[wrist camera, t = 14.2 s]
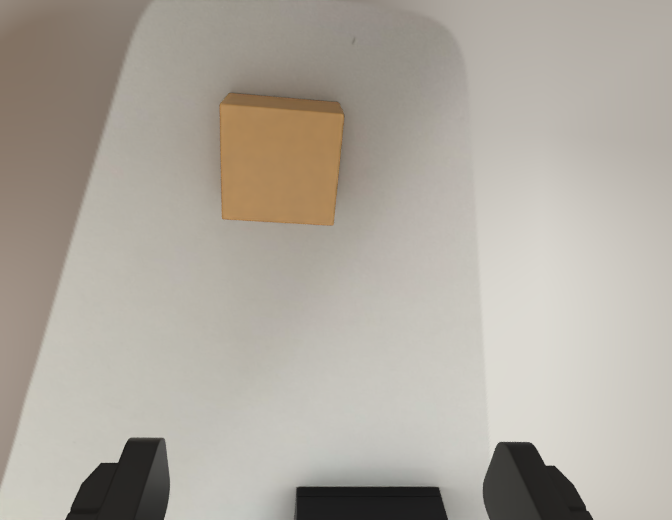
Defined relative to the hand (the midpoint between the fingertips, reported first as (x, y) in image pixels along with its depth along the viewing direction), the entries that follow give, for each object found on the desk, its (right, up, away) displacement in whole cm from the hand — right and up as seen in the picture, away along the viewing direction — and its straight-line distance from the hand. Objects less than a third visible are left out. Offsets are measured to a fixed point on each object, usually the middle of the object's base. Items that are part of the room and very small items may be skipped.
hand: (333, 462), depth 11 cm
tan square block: (-3, +11, +13) cm, 17 cm away
